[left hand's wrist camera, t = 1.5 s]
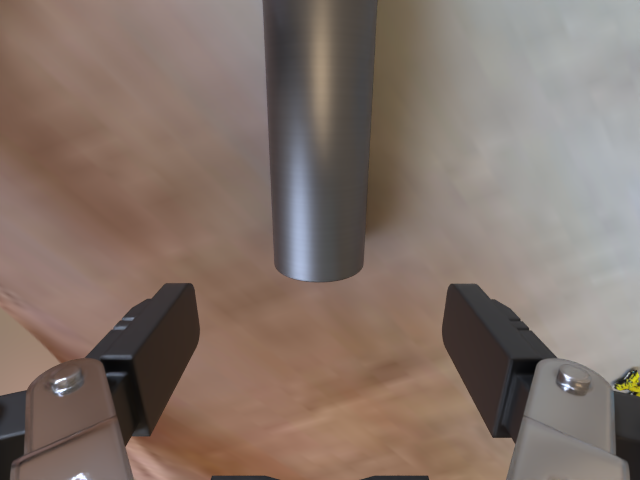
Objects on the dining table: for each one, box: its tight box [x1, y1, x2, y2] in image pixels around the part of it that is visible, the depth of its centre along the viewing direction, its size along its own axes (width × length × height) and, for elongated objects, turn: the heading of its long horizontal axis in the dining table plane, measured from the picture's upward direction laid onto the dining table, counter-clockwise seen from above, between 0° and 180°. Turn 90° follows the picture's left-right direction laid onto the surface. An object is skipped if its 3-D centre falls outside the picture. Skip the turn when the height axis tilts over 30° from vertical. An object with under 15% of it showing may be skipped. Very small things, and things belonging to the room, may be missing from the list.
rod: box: [263, 0, 377, 282], centre depth 20 cm, size 26×6×6 cm, turn 0°
